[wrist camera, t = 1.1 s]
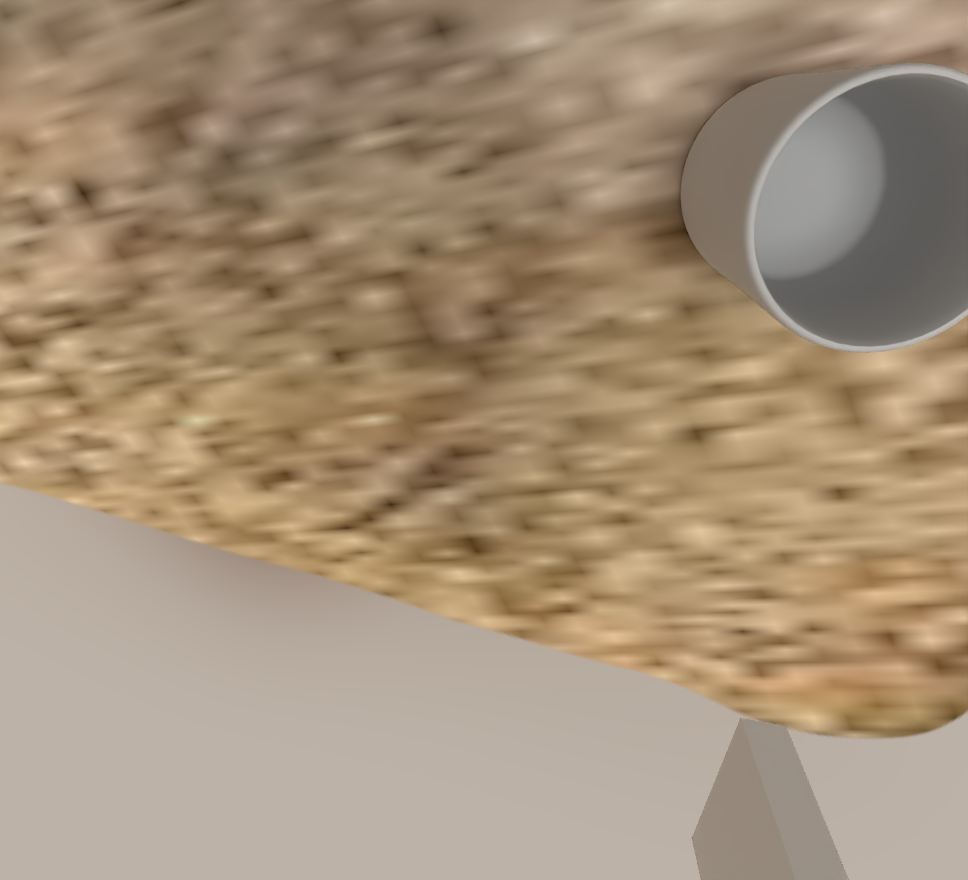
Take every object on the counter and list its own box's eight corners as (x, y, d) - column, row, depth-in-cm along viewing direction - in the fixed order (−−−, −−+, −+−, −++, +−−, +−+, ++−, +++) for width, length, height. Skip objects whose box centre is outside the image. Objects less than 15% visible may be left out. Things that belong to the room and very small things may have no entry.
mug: (640, 228, 35) (687, 278, 25) (754, 33, 32) (860, -2, 22) (869, 355, 37) (1000, 449, 27) (998, 180, 34) (1201, 211, 24)
